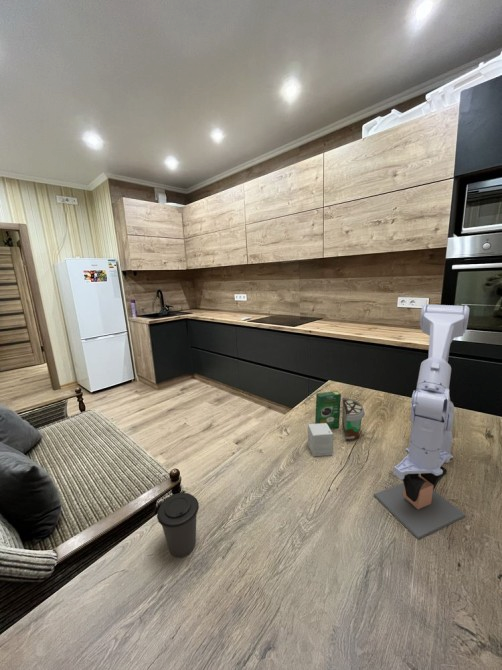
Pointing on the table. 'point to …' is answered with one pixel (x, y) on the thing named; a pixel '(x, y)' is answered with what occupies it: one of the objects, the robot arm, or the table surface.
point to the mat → (419, 511)
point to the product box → (320, 439)
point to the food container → (351, 418)
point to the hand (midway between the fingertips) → (418, 495)
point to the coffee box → (328, 409)
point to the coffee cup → (179, 523)
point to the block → (422, 495)
